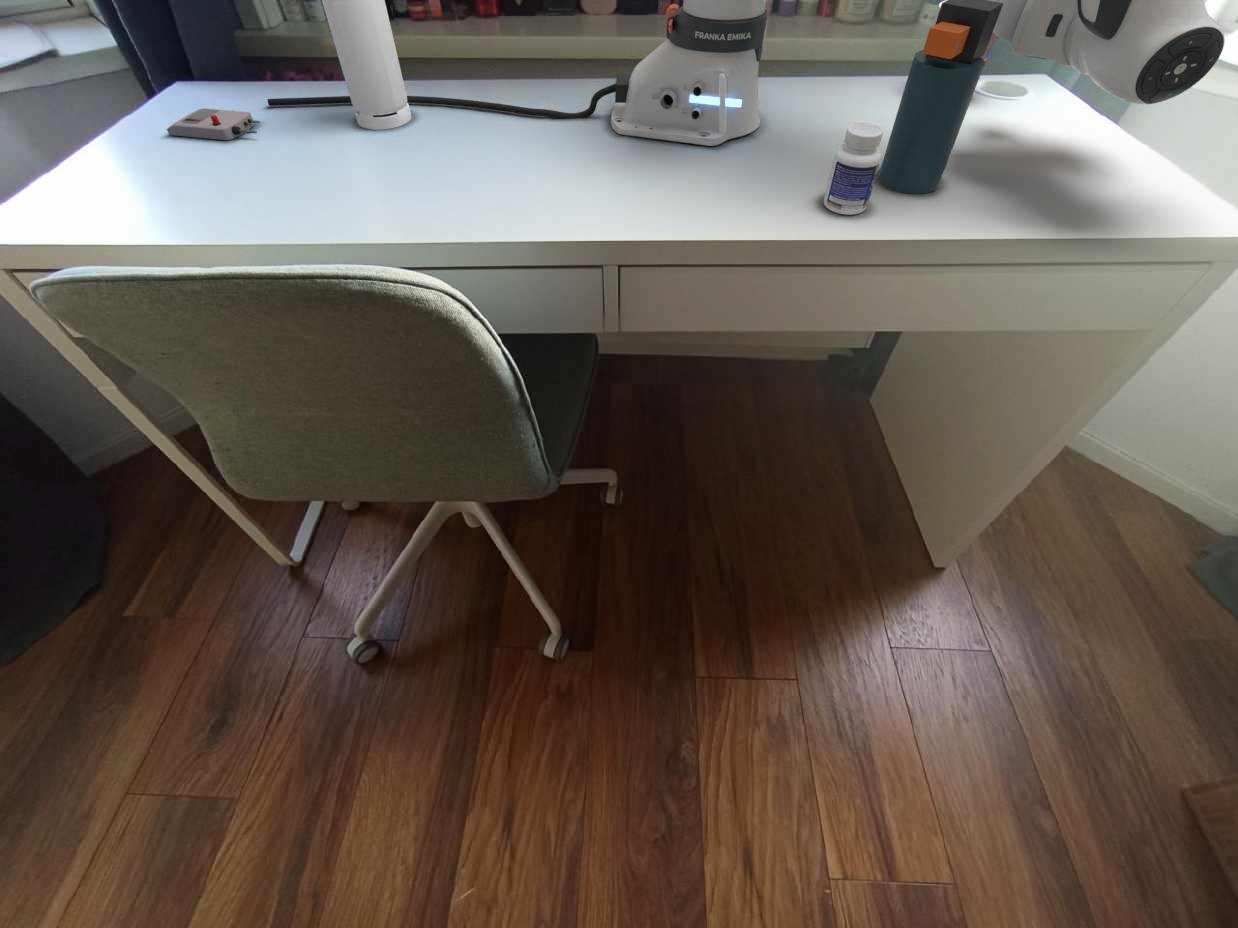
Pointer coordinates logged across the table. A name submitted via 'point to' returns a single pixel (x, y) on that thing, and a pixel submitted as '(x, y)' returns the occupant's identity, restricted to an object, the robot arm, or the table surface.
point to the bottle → (369, 61)
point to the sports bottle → (937, 102)
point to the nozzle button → (946, 40)
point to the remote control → (213, 124)
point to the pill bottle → (854, 170)
